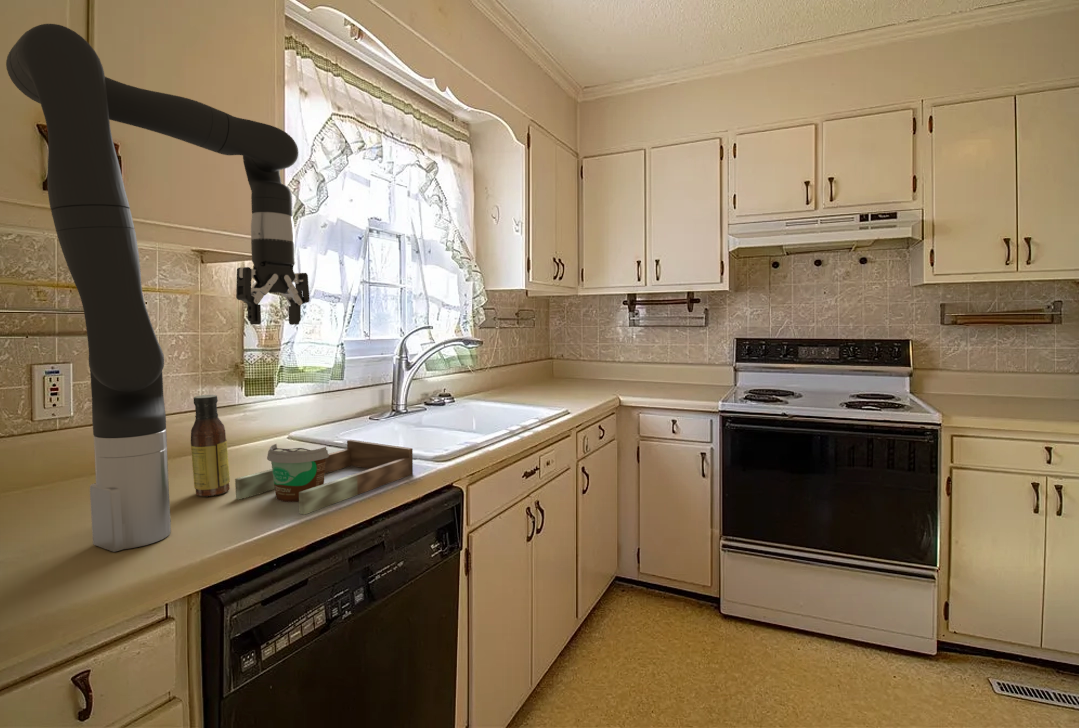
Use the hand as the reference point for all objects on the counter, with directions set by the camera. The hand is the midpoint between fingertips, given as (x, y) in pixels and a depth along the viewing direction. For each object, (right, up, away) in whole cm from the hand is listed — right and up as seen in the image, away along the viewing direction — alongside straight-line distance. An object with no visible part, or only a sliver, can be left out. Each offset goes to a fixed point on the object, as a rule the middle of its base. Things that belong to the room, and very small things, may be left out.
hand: (275, 324), depth 107 cm
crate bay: (+7, -33, +10) cm, 36 cm away
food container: (+3, -34, +2) cm, 34 cm away
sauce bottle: (-15, -34, +4) cm, 37 cm away
